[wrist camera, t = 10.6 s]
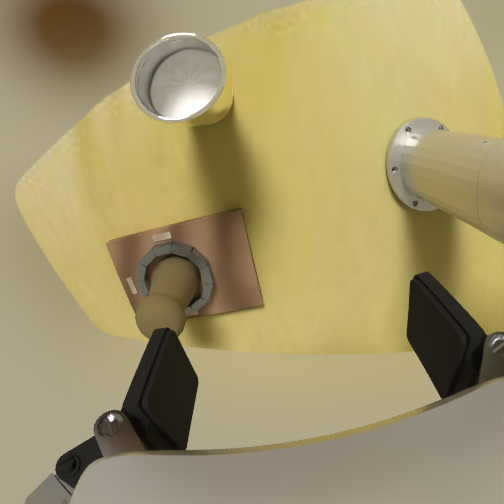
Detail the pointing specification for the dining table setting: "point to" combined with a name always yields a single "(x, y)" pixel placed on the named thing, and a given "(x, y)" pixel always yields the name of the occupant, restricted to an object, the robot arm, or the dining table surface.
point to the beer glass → (183, 81)
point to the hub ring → (183, 251)
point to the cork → (168, 295)
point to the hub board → (206, 242)
